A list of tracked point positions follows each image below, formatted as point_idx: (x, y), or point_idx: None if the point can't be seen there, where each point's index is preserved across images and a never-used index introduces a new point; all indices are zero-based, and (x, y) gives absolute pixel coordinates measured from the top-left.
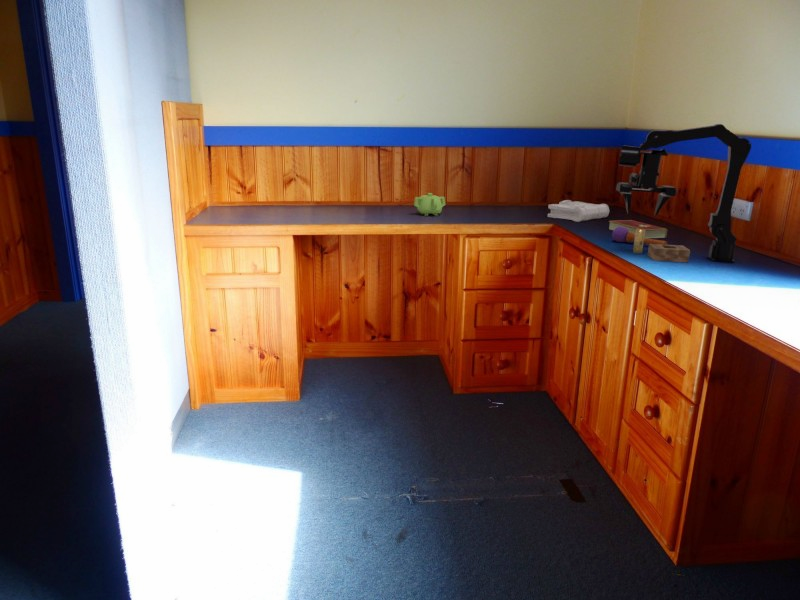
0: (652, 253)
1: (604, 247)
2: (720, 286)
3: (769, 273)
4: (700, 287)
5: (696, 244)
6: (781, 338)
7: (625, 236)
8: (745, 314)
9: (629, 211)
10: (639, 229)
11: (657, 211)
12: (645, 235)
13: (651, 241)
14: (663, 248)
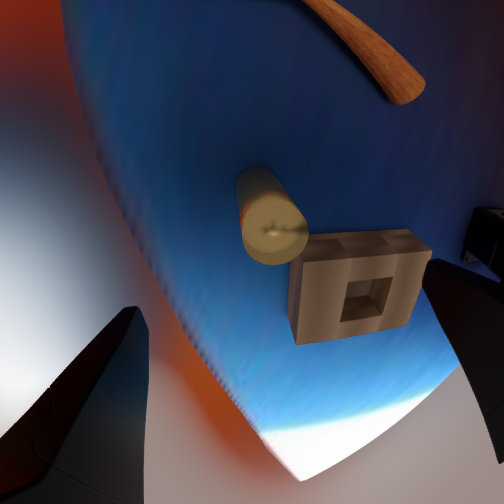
0: (292, 309)
1: (108, 123)
2: (338, 425)
3: None
4: (303, 437)
5: (493, 17)
6: (301, 479)
7: None
8: (304, 467)
9: (148, 356)
10: (270, 227)
11: (446, 322)
12: None
13: (362, 52)
14: (330, 332)
